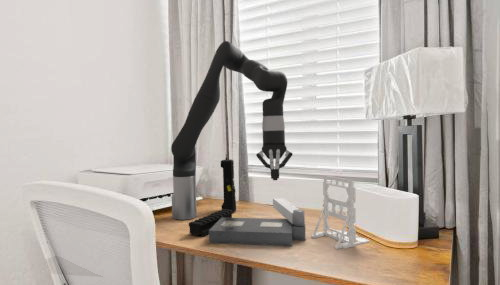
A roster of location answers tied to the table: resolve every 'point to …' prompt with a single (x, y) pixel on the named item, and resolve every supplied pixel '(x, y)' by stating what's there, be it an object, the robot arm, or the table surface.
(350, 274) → the table surface
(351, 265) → the table surface
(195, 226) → the rail mount
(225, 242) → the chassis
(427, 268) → the table surface
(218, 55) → the robot arm
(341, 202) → the film strip holder
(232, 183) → the portable radio
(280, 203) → the bar
